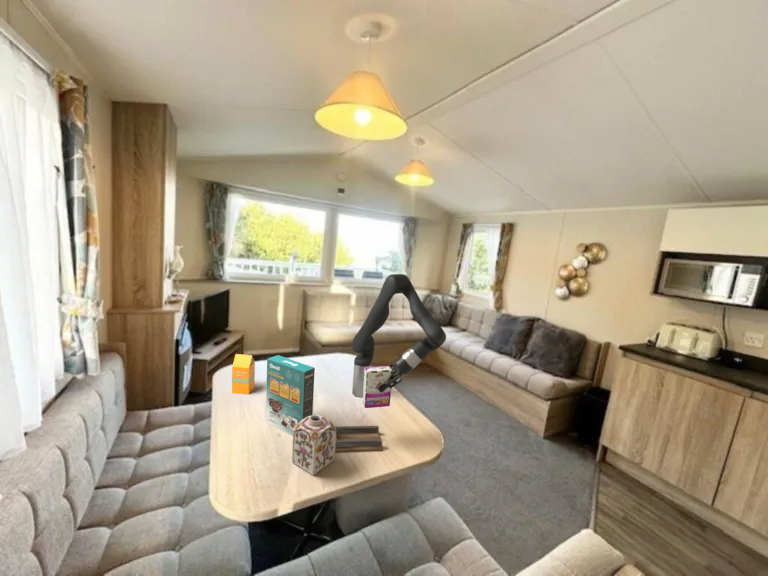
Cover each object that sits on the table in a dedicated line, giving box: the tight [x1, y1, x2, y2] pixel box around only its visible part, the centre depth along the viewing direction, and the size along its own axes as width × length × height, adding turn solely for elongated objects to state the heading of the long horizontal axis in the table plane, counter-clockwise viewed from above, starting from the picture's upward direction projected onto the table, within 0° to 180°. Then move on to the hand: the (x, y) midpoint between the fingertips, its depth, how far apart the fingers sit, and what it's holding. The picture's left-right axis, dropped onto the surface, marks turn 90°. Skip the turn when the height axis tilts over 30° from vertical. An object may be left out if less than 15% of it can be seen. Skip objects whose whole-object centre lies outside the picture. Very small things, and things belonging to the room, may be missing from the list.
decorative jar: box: [291, 414, 336, 476], centre depth 127 cm, size 12×12×18 cm
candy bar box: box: [362, 365, 392, 409], centre depth 143 cm, size 11×5×16 cm, turn 106°
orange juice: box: [231, 353, 256, 395], centre depth 177 cm, size 8×9×20 cm
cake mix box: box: [265, 354, 316, 437], centre depth 146 cm, size 22×6×30 cm, turn 59°
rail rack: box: [335, 425, 383, 453], centre depth 142 cm, size 14×20×4 cm
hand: (378, 387), depth 143 cm, fingers closed on candy bar box, 5 cm apart
